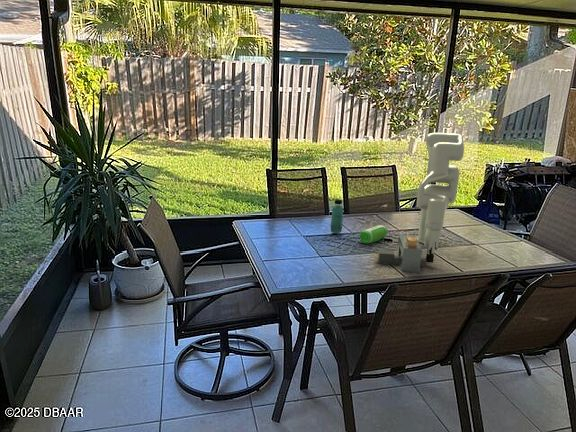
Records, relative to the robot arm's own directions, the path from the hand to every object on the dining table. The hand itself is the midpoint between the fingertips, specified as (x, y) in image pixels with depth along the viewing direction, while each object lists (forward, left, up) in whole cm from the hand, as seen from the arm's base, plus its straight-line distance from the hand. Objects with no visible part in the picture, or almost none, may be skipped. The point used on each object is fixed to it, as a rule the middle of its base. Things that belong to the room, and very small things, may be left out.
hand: (429, 261), depth 199 cm
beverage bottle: (-37, -45, -2) cm, 58 cm away
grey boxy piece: (0, -10, -2) cm, 10 cm away
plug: (0, -14, -2) cm, 14 cm away
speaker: (-31, -24, -2) cm, 39 cm away
